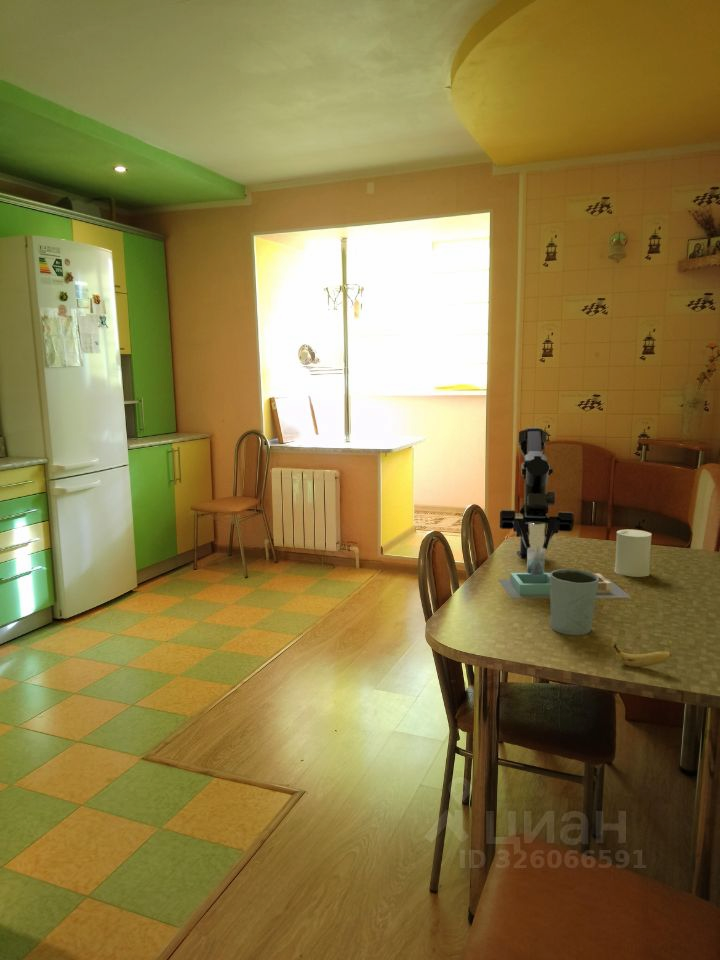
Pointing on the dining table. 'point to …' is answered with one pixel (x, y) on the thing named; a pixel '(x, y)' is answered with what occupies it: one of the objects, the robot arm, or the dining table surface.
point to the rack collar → (531, 583)
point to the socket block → (603, 584)
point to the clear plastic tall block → (536, 547)
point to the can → (633, 553)
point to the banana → (642, 658)
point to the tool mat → (513, 593)
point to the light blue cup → (572, 601)
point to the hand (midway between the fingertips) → (536, 548)
